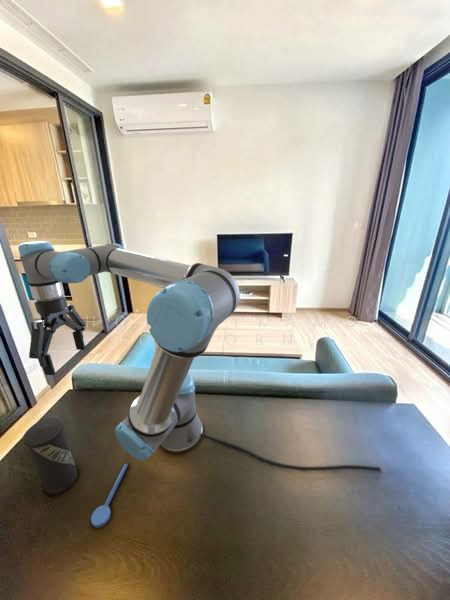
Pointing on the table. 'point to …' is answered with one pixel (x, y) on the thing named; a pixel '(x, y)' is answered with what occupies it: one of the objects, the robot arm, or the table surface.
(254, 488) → the table surface
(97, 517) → the spoon
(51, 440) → the container
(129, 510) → the table surface
